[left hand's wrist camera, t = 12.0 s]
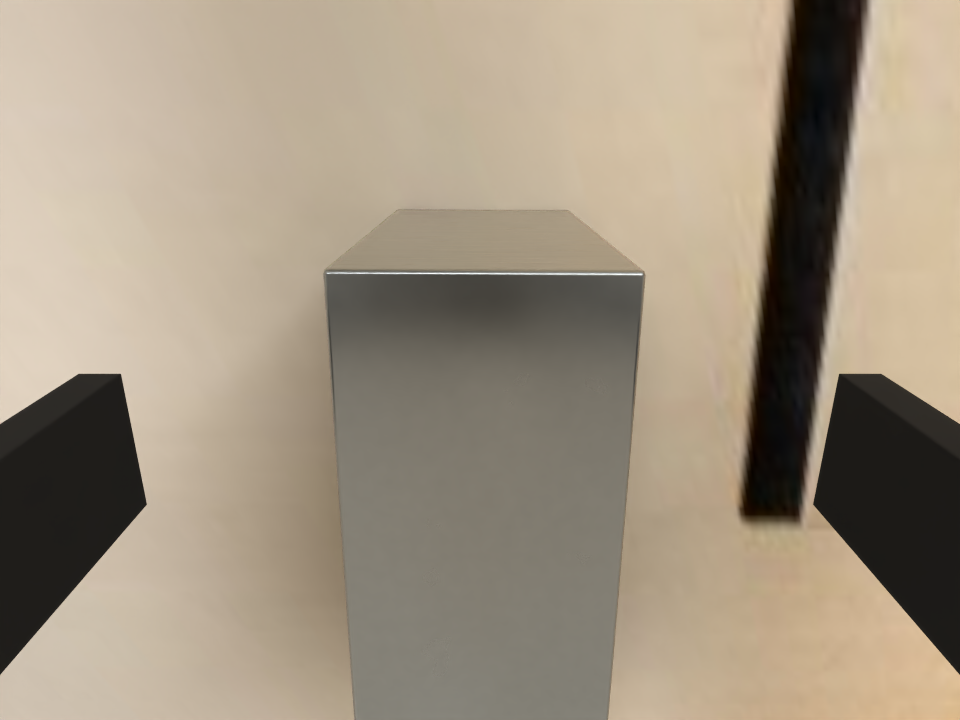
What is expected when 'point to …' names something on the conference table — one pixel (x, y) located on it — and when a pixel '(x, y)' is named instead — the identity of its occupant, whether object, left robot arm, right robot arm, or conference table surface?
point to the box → (482, 461)
